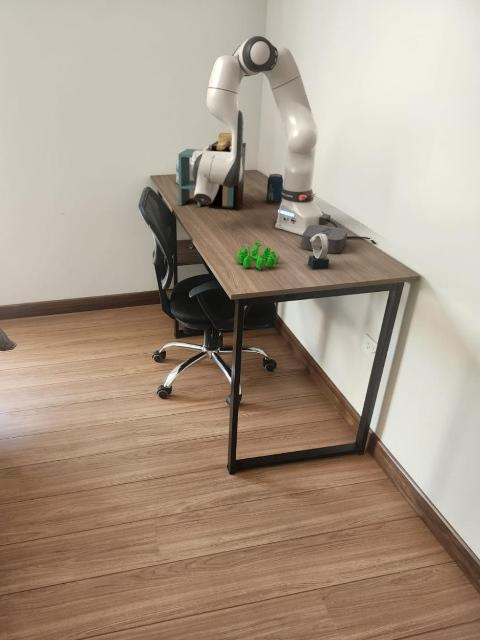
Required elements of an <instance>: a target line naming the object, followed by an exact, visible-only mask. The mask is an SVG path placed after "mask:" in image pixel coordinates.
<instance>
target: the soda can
mask: <svg viewBox="0 0 480 640" xmlns="http://www.w3.org/2000/svg"><path fill="white" fill-rule="evenodd" d="M283 187H284V177H283V174H280V173H271V174H269V176H268V178H267V185H266V197H265V199H266V201H267V202H266V203H267V204H270V205H278V204H281V202H282V197H281V196H282V188H283Z"/></svg>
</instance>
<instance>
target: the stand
mask: <svg viewBox="0 0 480 640" xmlns="http://www.w3.org/2000/svg"><path fill="white" fill-rule="evenodd" d="M196 150H199V151H203V150H204V149H196V148H186V149H184V150H183V151H181V152H179V153H178V154H177V155H178V157H177V158H178V159H177V160H178V161H179V184H178V206H179V207H180V206H183V205H185V204H186V203H187V202H188V201H189V200H190V199H191V196H190V195H191V194H190V193H191V191H192V190H193V191H195V187H196V182H195V181H192V180H190V162H191V159H192V155H193V152H194V151H196ZM190 190H191V191H190ZM203 205H204V204H202V203H199V202H197V205H196V206H197V208H201V207H202V206H203Z"/></svg>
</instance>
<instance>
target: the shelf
mask: <svg viewBox="0 0 480 640" xmlns="http://www.w3.org/2000/svg"><path fill="white" fill-rule="evenodd" d="M217 144H218V140H216V141H215V142H213V143H212V144H211V145H212V149H211V151H217V152H230V149H229V148H230V146H228V147H226V148H225V149H223V150H217ZM246 146H247V142H243V146H242V178H241V181H240V183H239V184H238V185H236V186H234V187H232V188H229V187H226V186H223V185H220V184H219V189H218V192H217V194H216V196H215V198H214V200H213V202H212V203H210V204H208V209H215V210H217V209H219V210H228V211H229V210H230V211H238V210H239V209H240V208H241V206H243V203H244V187H245V186H244V185H245V167H246V149H247V147H246Z"/></svg>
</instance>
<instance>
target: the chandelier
mask: <svg viewBox="0 0 480 640" xmlns="http://www.w3.org/2000/svg"><path fill="white" fill-rule="evenodd" d="M260 247H262V243H261V242H255V243H254V246H253V247H252V249H251V251H250V250H249V248H247V247H241V248H240V249H239V251H238V252H237V253H236V254H235V257H234V260H235V262H236V263H237V264H239V265H243V268H245V269H249V268H250V267H251V266H252V264H253V261H254V260H256V263H255V264H256V267H255V268H256V269H258V271H261V270H262V269H263V268H264V264H265V266H266V267H267V268H270V269H271V268H274V267H275V266H276V264H277V263H278V261H279V259H280V254H279V253H278V252H277V251H275V250H271V248H270V247H268V246H266V247H265V248H264V249H263V251H262V254H261V255H259V248H260ZM237 256H238V258H237ZM237 259H238V260H237Z"/></svg>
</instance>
